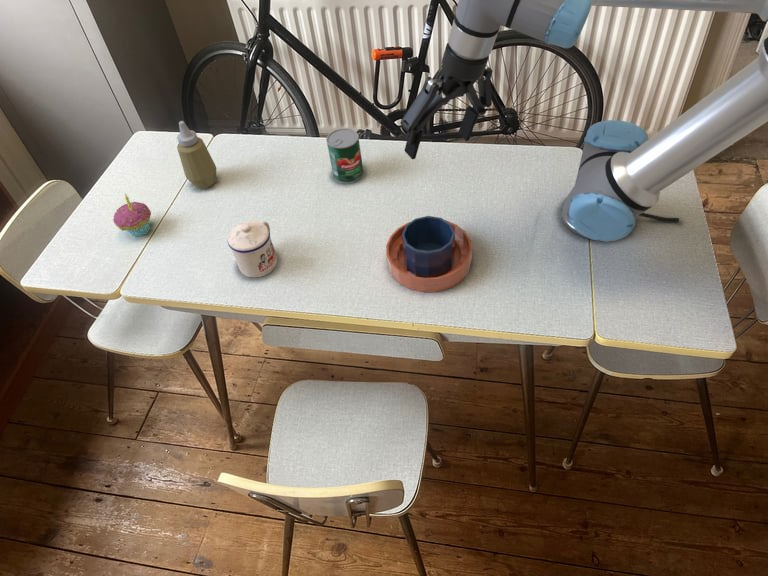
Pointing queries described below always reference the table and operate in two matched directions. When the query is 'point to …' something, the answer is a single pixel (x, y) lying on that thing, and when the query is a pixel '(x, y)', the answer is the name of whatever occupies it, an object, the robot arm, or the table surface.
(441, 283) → the lower bowl
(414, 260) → the blue faceted pot
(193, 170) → the squeeze bottle
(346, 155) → the canned tomato
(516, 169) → the table surface
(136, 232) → the cupcake
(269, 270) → the teacup with lid
